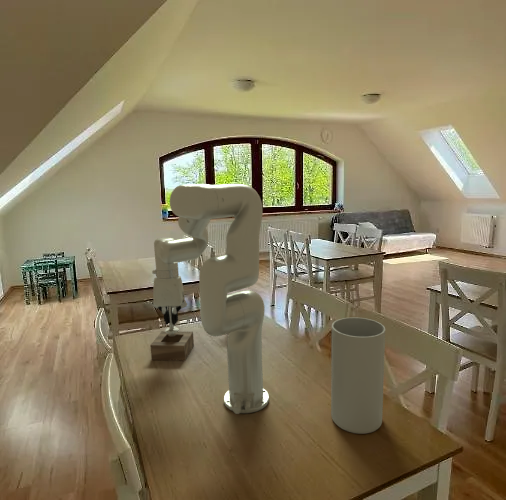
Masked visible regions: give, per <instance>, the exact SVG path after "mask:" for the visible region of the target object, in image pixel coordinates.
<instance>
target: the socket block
mask: <svg viewBox="0 0 506 500" xmlns="http://www.w3.org/2000/svg"><path fill="white" fill-rule="evenodd" d="M194 339H195V338H194V331H178V332H176V335H175V336H174V337H170V336H168V333H166V332H165V330H163V331H161V332H160V333H159V334H158V335H157V336H156V338H155V339H154V340H153V341H152V342H151V344H150V356H151V361H186V360H187V358H188V357H189V355H190V353H191V352H192V349H193V348H194V346H195V342H194V341H195V340H194Z"/></svg>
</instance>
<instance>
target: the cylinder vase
mask: <svg viewBox="0 0 506 500" xmlns="http://www.w3.org/2000/svg"><path fill="white" fill-rule="evenodd" d="M385 344H386V327H385V325H383V324H382V323H381V322H378V321H377V320H375V319H370V318H366V317H357V316H355V317H352V316H351V317H344V318H340V319H336V320H335V321H333V322H332V323H331V375H330V376H331V377H330V378H331V385H330V387H331V389H330V390H331V395H330V396H331V401H330V402H331V403H330V405H331V406H330V414H331V419H332V421H333V422H334V424H335V425H337V426H338V427H339V428H340V429H342V430H344V431H345V432H349V433H351V434H359V435H362V434H370V433H373V432H376V431H377V430H378V429H379V428H380V427H381V426H382V423H383V410H384V409H383V408H384V407H383V405H384V403H383V402H384V382H385V381H384V378H385V377H384V376H385V352H386V351H385V348H386V347H385Z"/></svg>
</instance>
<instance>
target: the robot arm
mask: <svg viewBox="0 0 506 500" xmlns="http://www.w3.org/2000/svg"><path fill="white" fill-rule="evenodd" d="M169 207H170V210H171V211H172V213H173V214H174V215H175V216H176V217H178V221H177V223H178V226H179V228H180V230H181V231H182V232H183V233H184V234H185V235H187V236H190V237H185V238H178V239H175V238H173V237H160V238H157V239H155V240H154V242H153V246H154V247H153V248H154V260H155V269H153V270H152V274H153V275H155V277H154V279H153V288H152V289H153V291H152V292H153V294H152V297H153V298H152V299H153V303H152V307H153V308H155V309H158V310H159V311H161V313H162V314H163V321H164V322H165V323H164V324H165V325H166V326H167V325H168V326H169V317H168V316H169V314H168V307H173V314H172V323H173V325H174V326H176V324H177V323H178V321H179V314H178V312H179V311H180V310H181V309H185V308H186V307H187V306H188V303H187V301H186V299H185V290H184V284H183V281H182V277H181V275H180V274H179V263H182V262H188V261H189V262H190V261H193V260H197V259H199V258H200V257H201V256H202V254H204V251H206V249H207V247H208V245H209V233H208V229H207V227H208V225H209V223H210V222H211V220H216V219H225V218H231V217H232V218H234V219H233V220H232V223H230V226H229V227H228V230H227V234H226V237H225V238H226V241H225V243H226V248H225V253H224V254H223V255H217V256H213V257H210V258H208V259H206V260H205V261H204V262H203V264H202V265H201V268H200V269H199V270H200V271H199V276H198V277H199V278H198V281H199V282H198V283H199V312H200V313H199V314H200V321H201V324H202V327H203V329H204V331H205V332H206V334H207V335H209V336H210V337H216V338H217V337H221V336H225V335H227V341H226V355H227V357H226V358H227V374H228V378H227V379H228V390H227V391H226V392H225V394H224V396H223V402H224V403H223V404H224V406H225V407H226V408H227V409H228V410H230V411H232V412H233V413H234V414H236V415H239V414H251V413H256V412H259V411H261V410H262V409H264V408H266V406H267V405H268V404H269V401H270V395H269V393H268V391H267V390H266V389H265V388H264V379H263V378H264V377H263V375H264V374H263V372H264V371H263V352H262V351H263V350H262V349H263V347H262V346H263V345H262V344H263V341H262V340H263V339H262V338H263V336H262V335H263V334H262V333H263V332H262V331H263V323H264V318H265V311H266V310H265V303H264V299H263V298H262V296H261V295H260V294H259V293H258V292H257V291H254V290H249V289H248V290H246V289H247V288H249V287H252V286H254V285H256V284H257V282H258V281H259V276H260V234H261V227H262V221H263V220H262V219H263V204H262V199H261V197H260V195H259V194H258V192H257V191H256V189H254V188H253V187H252V186H250V185H246V184H243V183H242V184H241V183H225V184H209V183H208V184H207V183H196V184H194V183H192V184H180V185H177V186H176V187H175V188H174V189H173V190H172V192H171V194H170V196H169ZM244 289H245V290H244Z"/></svg>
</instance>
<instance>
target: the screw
mask: <svg viewBox="0 0 506 500" xmlns="http://www.w3.org/2000/svg"><path fill="white" fill-rule="evenodd" d="M168 314H169V316H168V317H169V324H168V327H166V328H165V329H164V331H165V332H166V333H168V336H170V337H174V336H175V335H176V332H180V331H179V330H180V329H179V327H177V326H175V325H173V323H172V314H173V307H168Z"/></svg>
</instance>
